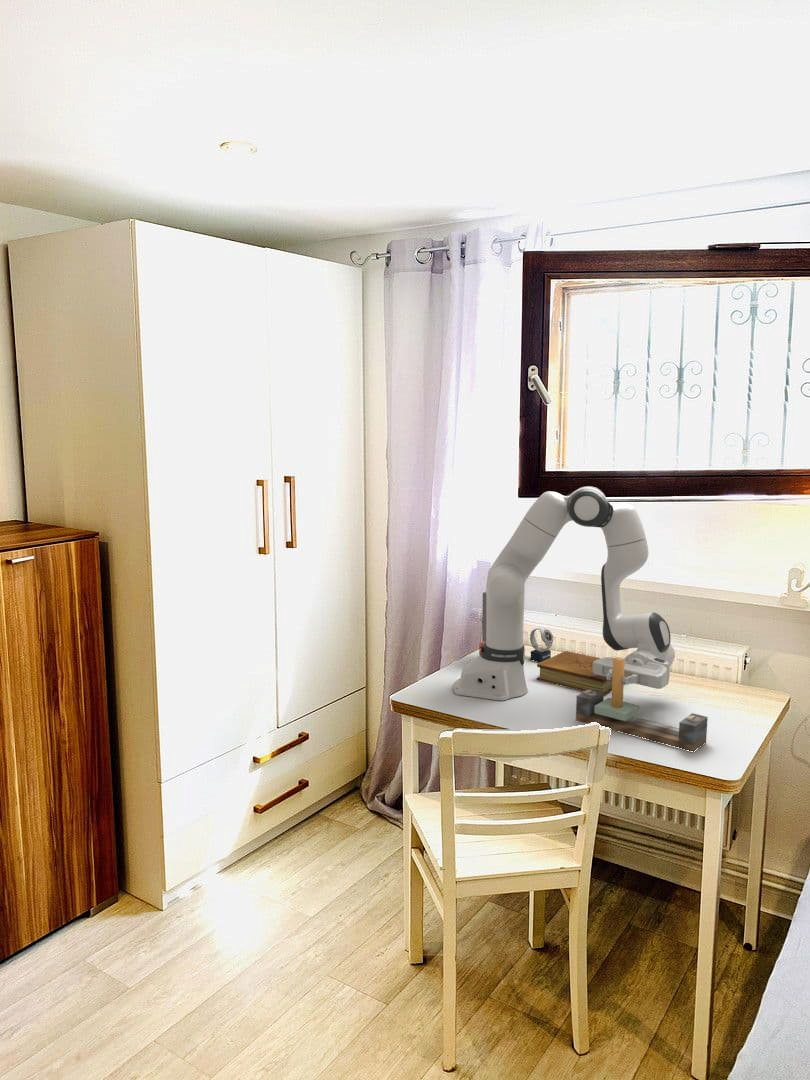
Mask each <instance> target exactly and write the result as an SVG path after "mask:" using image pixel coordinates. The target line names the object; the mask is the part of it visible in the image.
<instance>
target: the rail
mask: <svg viewBox="0 0 810 1080" xmlns="http://www.w3.org/2000/svg"><path fill="white" fill-rule="evenodd" d="M604 697H605V696H604V691H601V690H597V689H592V688H590V689H588V690H586V691H582V692H581V693H579V694H577V695H576V702H575V704H576V705H575V721H577V722H581V723H584V724H588V723H591V722H597V723H599V724H600V725H601V726H605V727H609V728H611V729H612V730H611V731H613V730H614V731H613V732H617V731H620V732H623V733H622V734H624V733H627V734H631V735H635V736H638V737H641V738H640V739H642V737H643V738H646V739H649V740H652V741H656V742H660V743H664V744H668V745H671V746H675V747H679V748H682V749H685V750H689V751H693V752H694V751H695V750H696V749H697V748H699V747H700V746H702V745H703V744H704V743H705V744H707V734H708V718H709V717H708V716H705V715H701V714H698V713H693V712H692V713H690V714H689V715H688V716H686V717H684V718H683V719H682V720H680V721H679V723H678V726H679V727H675V726H672V725H668V724H664V723H660V722H658V721H657V722H656V721H652V720H649V719H645V718H641V717H637V716H635V715H634V716H633V717H631V718H630V719H628V720H626V721H623V720H619V719H615V718H612V717H608V716H604V715H600V714H597V713H594V710H595V705H597V704H599V703H600V702H602V701H604V700H605V698H604ZM620 732H619V733H620ZM627 734H626V735H627ZM631 735H630V736H631ZM635 736H634V737H635ZM638 737H637V738H638ZM649 740H648V741H649ZM652 741H651V742H652ZM656 742H655V743H656ZM660 743H659V744H660ZM705 744H704V745H705ZM704 745H703V746H704ZM703 746H702V747H703ZM700 748H701V747H700ZM700 748H699V749H700ZM685 750H684V751H685ZM695 752H696V751H695ZM695 752H694V753H695Z"/></svg>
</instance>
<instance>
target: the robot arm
mask: <svg viewBox="0 0 810 1080" xmlns="http://www.w3.org/2000/svg"><path fill="white" fill-rule="evenodd" d="M572 521H573V522H574V523H576V524H577V525H578V526H582V527H587V528H588V527H589V528H600V529H601V531H602V532H603V536H604V539H605V544H606V548H607V558H606V561H605V563H604V564H603V565H602V567H601V573H600V574H601V575H600V576H601V577H600V581H601V586H600V587H601V598H602V599H601V600H602V615H603V620H602V621H603V623H602V638H603V641H604V642H605V643H606V644H607V646H608V647H610V648H611V649H613V650H614V651H617V652H618V651H623V650H629V649H636V650H635V651H632V652H631V653H629V654H628V655H625V657H624V659H625V661H624V677H622V684H624V685H626V686H627V685H630V684H634V685H640V686H645V687H648V688H653V689H655V690H657V689H660V690H661V689H663V688H666V686H668V685H669V683H670V676H671V675H670V673H671V672H670V670H671V669H670V667H671V666H672V665H673V663H674V661H675V657H676V654H675V650H674V647H673V645H672V644H671V631H670V627H669V625H668V623H667V621H666V620H665V619H664V618H663V617H662V616H661V615H660V614H659V613H657V612H646V613H645V612H644V613H638V614H628V615H624V614H623V613H622V610H621V609H622V608H621V607H622V606H621V595H620V594H621V593H620V589H621V588H620V586H621V584H622V582H623V581H624V580H625V579H626V578H628V577H629V576H631V575H633V574H634V573H636V572H638V571H639V570H640V569H642V567H643V566H644V565H645V564H646V562H647V560H648V558H649V544H648V541H647V538H646V533H645V529H644V527H643V523H642V521H641V518H640V516H639V513H638V510H637V509H636V508H635V506H633V505H632V504H628V503H622V502H621V503H616V504H614V503H610V501H609V500H608V499H607V497H606V495H605V493H604V492H603V491H602V490H601V489H599V488H598V487H594V486H592V485H591V486H590V485H587V486H581V487H579V488H578V489H576V490H574V491H572V492H570V493H568V494H567V495H563V494H561V493H559V492H557V491H550V490H548V491H545V492H543V493H542V494H541V495H539V497H537V499H536V500H535V502H533V504H532V505H531V506H530V508H529V509H528V510H527V512H526V513H525V514H524V516H523V518H522V520H521V521H520V523H519V525H518V526H517V528H516V529H515V531H514V532H513V534H512V536H511V538H510V539H509V541H508V542H507V543H506V545H505V546H504V547H503V548H502V550H501V551H500V552H499V555H498V556H497V557H496V559H495V561H494V562H493V563H492V565H491V566H490V568H489V569H488V572H487V578H486V587H485V589H486V590H485V592H486V643H485V642H484V641H482V640H481V641H480V642H479V643H478V644H479V645H478V647H479V649H478V654H479V655H478V656H476V657H475V658H474V659H473V660H471V661H469V662H468V663H466V665H464V666H463V668H462V669H461V670H462V671H461V673H460V677H459V678H458V679H456V680H455V681H454V682H453V685H452V691H453V693H454V694H456V695H458V696H465V697H471V698H480V699H487V700H494V701H506V700H508V699H512V698H518V697H522V696H524V695H526V694H527V693H528V692H529V689H528V686H527V683H526V682H527V681H526V677H525V676H526V675H525V667H524V665H525V661H526V660H525V659H526V655H525V654H526V649H525V644H524V619H525V618H524V615H525V588H526V587H525V584H526V582H527V579H528V578H529V577H530V575H531V574H532V573H533V572H534V570H535V569H536V567H537V566H538V565H539V564H540V563H541V562H542V560H543V559H544V557H545V556H546V554H547V553H548V551H549V550H550V548H551V547H552V545H553V543H554V542H555V540H556V538H557V537H558V535H559V534H560V532H561V530H562V529H563V527H565V525H566V524H567V523H569V522H572ZM613 658H614V657H608V656H607V657H606V656H605V657H601V659H598V660H595V661H594V662H593V673H594V674H596V675H600V676H605V677H607V678H606V679H607V680H608V681H612V671H613Z"/></svg>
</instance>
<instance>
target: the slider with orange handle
mask: <svg viewBox="0 0 810 1080" xmlns="http://www.w3.org/2000/svg"><path fill="white" fill-rule="evenodd" d="M612 658H613V671H612V692H611V697H608V698H605V699H604V701H602V702H600V703H599V704H597V705H595V710H594V713H597V714H600V715H604V716H608V717H612V718H615V719H619V720H623V721H626V720H628V719H630V718H631V717H633V716H634V717H635V716H636V715H637V714H639V713H640V705H639V704H636V703H631V702H627V701H624V685H625V684H622V677H624V661H625V658H623V657H616V656H615V657H612Z"/></svg>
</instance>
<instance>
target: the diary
mask: <svg viewBox="0 0 810 1080" xmlns="http://www.w3.org/2000/svg"><path fill="white" fill-rule="evenodd" d="M601 658H602V657H601ZM601 658H600V657H596V656H593V655H592V656H591V655H587V654H582V653H577V652H572V651H567V650H564V651H562V652H560V653H558V654H556V655H554V656H551V658H549V659H547V660H545V661H543V662H541V663H539V662H537V664H536V667H537V668H539V676H538V677H537V678H536V681H541V682H545V683H548V682H549V683H548V684H552V683H553V684H552V685H556V684H558V685H557V686H560V685H562V686H561V687H564V686H566V687H565V688H568V687H569V689H572V688H573V690H577V691H581V692H584V691H586V690H588V689H590V688H592V689H597V690H601V691H604V697H605V696H607V695H608V694H610V693H612V692H611V691H612V681H608V680H607V679H606V678H607V677H605V676H600V675H596V674H594V673H593V662H594V661H595V660H598V659H601Z"/></svg>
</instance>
